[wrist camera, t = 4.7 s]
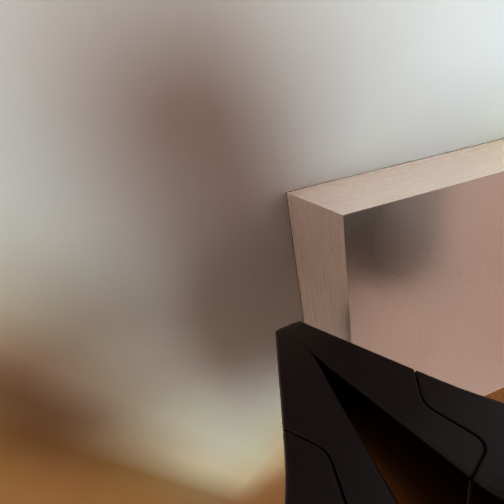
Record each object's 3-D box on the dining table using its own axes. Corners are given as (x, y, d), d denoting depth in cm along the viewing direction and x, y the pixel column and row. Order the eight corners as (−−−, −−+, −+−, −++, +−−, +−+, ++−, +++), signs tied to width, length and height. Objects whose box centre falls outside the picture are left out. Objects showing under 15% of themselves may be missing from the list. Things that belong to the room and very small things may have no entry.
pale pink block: (539, 292, 14) (658, 339, 10) (312, 379, 12) (371, 472, 8) (576, 120, 11) (752, 112, 8) (286, 192, 9) (360, 222, 6)
